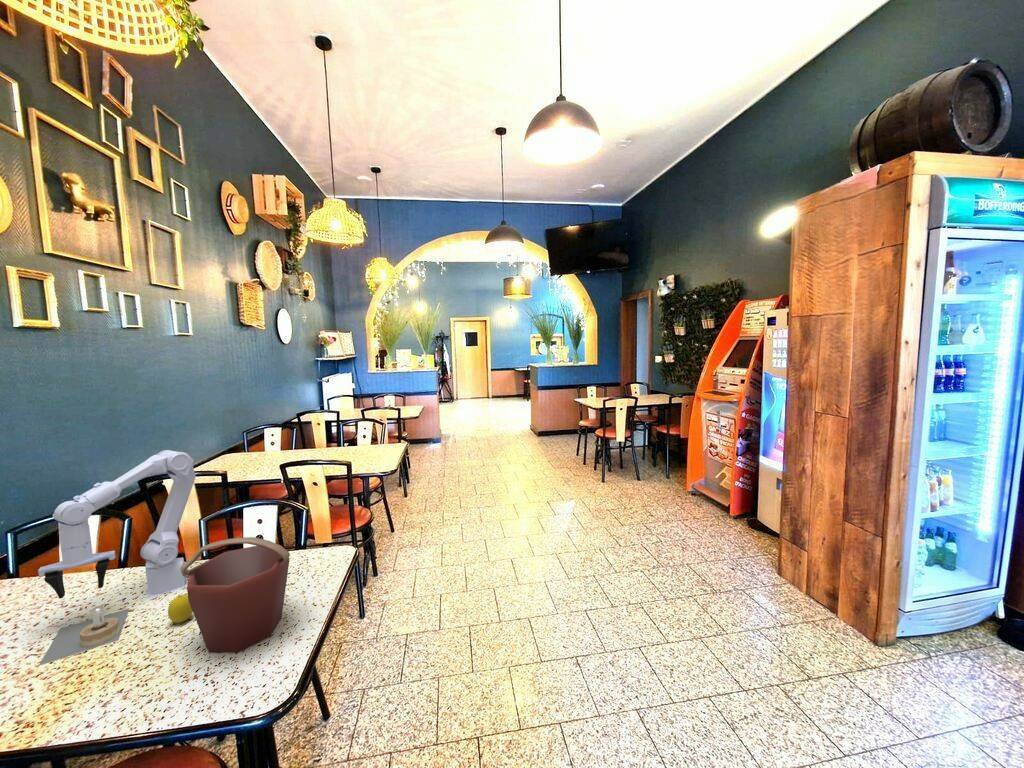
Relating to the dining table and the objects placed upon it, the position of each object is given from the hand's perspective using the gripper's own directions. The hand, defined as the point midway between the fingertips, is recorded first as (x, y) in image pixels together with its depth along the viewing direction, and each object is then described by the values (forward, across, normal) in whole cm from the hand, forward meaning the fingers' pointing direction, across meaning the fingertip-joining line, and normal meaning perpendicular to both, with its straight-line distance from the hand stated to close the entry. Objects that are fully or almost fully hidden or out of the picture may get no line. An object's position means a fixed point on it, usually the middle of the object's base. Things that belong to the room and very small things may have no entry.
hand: (82, 591), depth 114 cm
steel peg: (+9, -5, +12) cm, 16 cm away
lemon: (+10, -22, +17) cm, 29 cm away
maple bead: (+9, -5, +12) cm, 16 cm away
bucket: (+10, -36, +32) cm, 49 cm away
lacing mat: (+9, -2, +8) cm, 13 cm away
